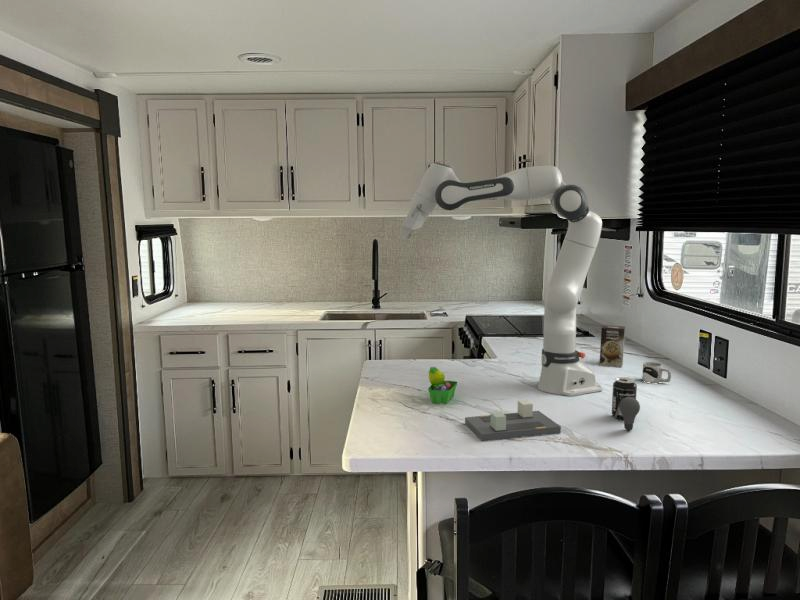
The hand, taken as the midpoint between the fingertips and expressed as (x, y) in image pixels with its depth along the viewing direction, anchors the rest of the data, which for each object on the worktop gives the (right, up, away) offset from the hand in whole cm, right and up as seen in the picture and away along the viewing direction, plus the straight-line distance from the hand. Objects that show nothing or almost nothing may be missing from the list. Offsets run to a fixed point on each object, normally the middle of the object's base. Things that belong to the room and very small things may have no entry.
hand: (405, 238), depth 217 cm
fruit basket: (+12, -56, -16) cm, 60 cm away
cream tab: (+36, -57, -38) cm, 77 cm away
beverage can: (+67, -59, -34) cm, 95 cm away
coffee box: (+85, -49, +27) cm, 102 cm away
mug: (+93, -53, +2) cm, 107 cm away
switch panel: (+31, -60, -43) cm, 80 cm away
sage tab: (+26, -59, -48) cm, 80 cm away
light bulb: (+64, -61, -45) cm, 99 cm away
